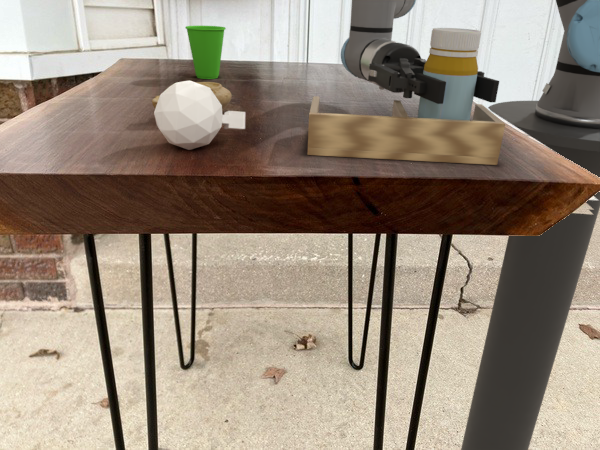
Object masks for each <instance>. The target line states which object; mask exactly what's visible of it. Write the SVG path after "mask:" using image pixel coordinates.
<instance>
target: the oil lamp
mask: <svg viewBox="0 0 600 450" xmlns="http://www.w3.org/2000/svg"><path fill="white" fill-rule="evenodd" d="M196 83H198V84H201V85H204V86H207V87H209V88H210V89H211V90H212V92H213V93H214V95H215V96H216V98H217V99H218V101H219V102H220V103H221V105H222V110H224V109H225V108H226V107H227V106H228V105H229V104H230V102H231V101H232V93H231V91H230V90H229V89H227V88H225V87H224V86H223V85H222V84H221V83H219V82H213V81H199V82H198V81H197V82H196ZM159 97H160V95H155V96H154V97H153V99H152V100H151V103H152V106H153V108H154V109H155V108H156V105H157V103H158V100H159Z"/></svg>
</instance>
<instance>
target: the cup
mask: <svg viewBox="0 0 600 450" xmlns="http://www.w3.org/2000/svg"><path fill="white" fill-rule="evenodd" d="M185 29H186V33H187V36H188V37H187V38H188V42H189V47H190V53H191V57H192V62H193V67H194V72H195V76H196V78H197V79H201V80H215V79H218V78H219V76H220V69H221V62H222V61H221V60H222V53H223V52H222V51H223V46H224V45H223V44H224V35H225V30H227V29H226V27H225V26H221V25H220V26H219V25H217V26H216V25H186V26H185Z"/></svg>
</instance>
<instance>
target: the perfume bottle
mask: <svg viewBox="0 0 600 450" xmlns="http://www.w3.org/2000/svg"><path fill="white" fill-rule="evenodd" d="M159 96H160V97H159V100H158V103H157V105H156V108H154V112H153V114H154V120H155V123H156V126H157V128H158V130H159V131H160V133H161V134H162V136H163V137H164V138H165V139H166V141H167V142H168V144H171V145H174V146H177V147H179V148H182V149H184V150H188V151H191V150H194V149H197V148H200V147H204V146H207V145H210V143H211V142H212V141H213V140H214V138H215V137H216V136H217V134H218V133H219V132H220V130H221V128H222V126H223V129H224V130H230V131H231V130H233V131H242V130H243V131H244V130H246V111H239V110H238V111H237V110H227V111H224V114H223V109H222V105H221V103H220V102H219V101H218V99H217V98H216V96H215V95H214V93H213V92H212V90H211V89H210V88H209V87H207V86H204V85H201V84H198V83H197V82H195V81H192V80H190V79H189V80H183V81H179V82H178V81H177V82H175V83H173V84H171V85H170V86H168V87H167V88H166V89H165V90H164V91H162V93H160V95H159Z"/></svg>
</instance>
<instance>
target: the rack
mask: <svg viewBox="0 0 600 450" xmlns="http://www.w3.org/2000/svg"><path fill="white" fill-rule="evenodd" d="M320 100H321V96H319V95H317V96H316V95H314V96H312V99H311V103H310V110H309V113H308V130H307V132H308V133H307V153H306V155H307V156H320V157H336V158H337V157H339V158H359V159H374V160H375V159H376V160H377V159H378V160H394V161H396V160H397V161H414V162H415V161H416V162H432V163H434V162H435V163H449V164H450V163H452V164H471V165H489V166H498V162H499V157H500V154H501V148H502V143H503V138H504V132H505V129H506V123H505V122H504V121H503V120H502V119H500V118H499V116H497V115H496V114H495V113H493V112H492V111H491V110H490V109H489V108H488V107H486V106H485V105H484V104H482V103H481V104H480V103H475V104H474V110H473V116H472V120H451V119H431V118H417V117H410V116H409V114H408V112H407V110H406V109H405V106H404V105H403V103H402V100H397V99H394V100H393V101H392V102H393V103H392V113H391V116H388V115H370V114H369V115H368V114H351V113H350V114H349V113H347V114H346V113H330V112H329V113H328V112H320V102H321V101H320Z"/></svg>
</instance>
